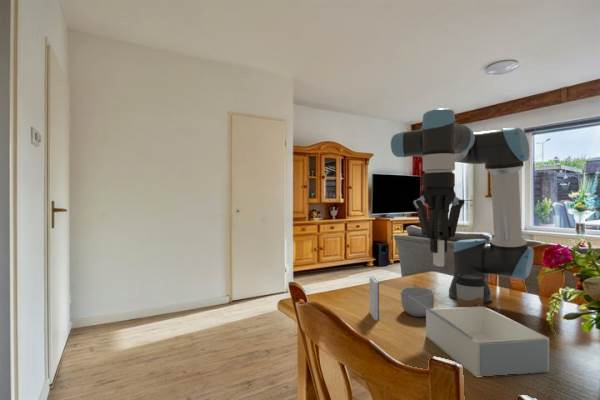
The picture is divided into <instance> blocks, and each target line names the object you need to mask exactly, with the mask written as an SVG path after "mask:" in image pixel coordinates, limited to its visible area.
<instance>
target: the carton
mask: <svg viewBox="0 0 600 400" xmlns="http://www.w3.org/2000/svg"><path fill="white" fill-rule="evenodd" d="M431 310H433V311H434V312H436V313H437V314H439V315H440V316H442V317H443V318H445V319H446V320H448V321H449V322H451V323H452V324H454V325H455V326H456V327H458V328H459V329H461V330H462V331H463V332H465V333H466V334H468V335H469V336H470V337H472V338H473V339H470V338H469V337H467V336H466V335H464V334H463V333H461V332H460V331H458V330H457V329H455V328H454V327H452V326H451V325H449V324H448V323H446V322H445V321H443V320H442V319H440V318H439V317H437V316H436V315H434V314H433V313H431V312H430V311H428V310H427V309H426V316H425V337H426V338H427V339H428V340H430V342H431V343H433V344H434V345H435V346H437V347H438V348H439V349H440V350H442V351H443V352H444V353H445V354H446V355H448V356H449V357H450V358H451V359H452V360H453V361H454V362H456V363H457V362H458V363H457V364H459V363H460V364H462V366H463V367H462V366H461V367H462V368H463V369H465V370H466V369H467V370H468V371H470V372H471V373H472V374H474V375H475V376H492V375H505V376H508V375H507V374H517V375H526V373H527V374H528V373H530V374H538V373H540V374H541V373H549V372H550V338H549V337H548V336H547V335H544V334H543V333H540V332H539V331H536V330H534V329H532V328H530V327H528V326H525V325H524V324H521V323H520V322H517V321H515V320H514V319H511V318H509V317H508V316H505V315H503V314H501V313H499V312H497V311H495V310H492V309H491V308H487V307H486V306H483V307H461V308H458V307H446V308H440V307H439V308H433V309H431ZM460 364H459V365H460ZM467 370H466V371H467ZM468 371H467V372H468ZM470 372H469V373H470ZM471 373H470V374H471ZM472 374H471V375H472ZM528 375H529V374H528Z"/></svg>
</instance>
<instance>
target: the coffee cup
mask: <svg viewBox="0 0 600 400" xmlns="http://www.w3.org/2000/svg"><path fill="white" fill-rule="evenodd" d="M484 286H485V284H484V280H483V277H482V276H479V275H474V274H458V275H457V278H456V287H457V299H456V303H457V304H456V305H457V307H456V308H461V307H484V303H483V294H484Z"/></svg>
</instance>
